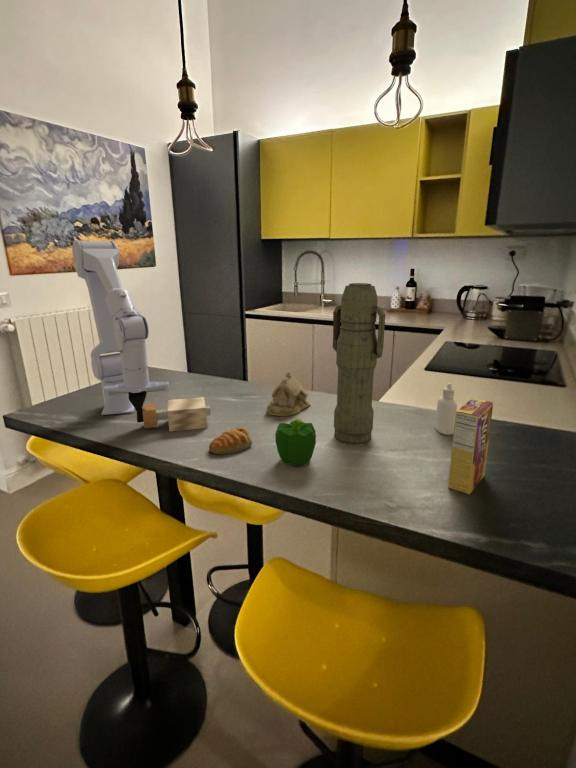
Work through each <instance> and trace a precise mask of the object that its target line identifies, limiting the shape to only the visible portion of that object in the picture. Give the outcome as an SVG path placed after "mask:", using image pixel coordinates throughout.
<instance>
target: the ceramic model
mask: <svg viewBox="0 0 576 768" xmlns="http://www.w3.org/2000/svg"><path fill="white" fill-rule="evenodd" d="M271 397H272V400H271V401H270V400H269V403H268V404H267V407H266V410H267V413H268V414H269V415H271V416H280V417H285V416H294V415H297V414H299V413H300V412H301V411H303V410H304V409H306V408H309V407H310V406H311V402H310V401H308V400H307V398H308V397H309V393H308V391H307V390H305V388H304V387H303V385H302V384H301V383H300V382H299V381H298V380H297V379H296V377H294V375H293V373H291V372H286V373H285V377H284V378H283V379H282V380H281V381H280V382H279V383H278V384H276V385H275V388H274V389H273V391H272V393H271Z"/></svg>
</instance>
